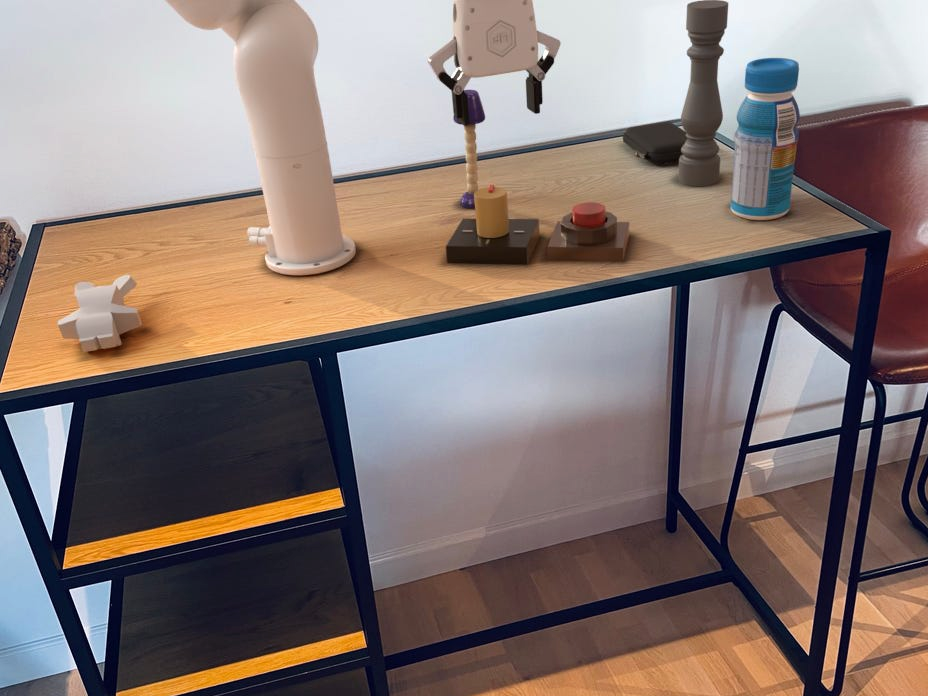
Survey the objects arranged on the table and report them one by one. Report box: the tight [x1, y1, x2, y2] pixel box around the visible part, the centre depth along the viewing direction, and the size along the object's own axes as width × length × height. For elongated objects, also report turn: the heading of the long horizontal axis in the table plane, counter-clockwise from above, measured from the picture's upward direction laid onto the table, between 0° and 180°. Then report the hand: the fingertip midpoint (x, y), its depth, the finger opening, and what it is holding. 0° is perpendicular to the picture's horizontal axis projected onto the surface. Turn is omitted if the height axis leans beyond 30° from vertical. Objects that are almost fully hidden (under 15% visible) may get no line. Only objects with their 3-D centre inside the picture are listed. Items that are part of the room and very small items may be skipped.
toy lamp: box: [453, 89, 486, 209], centre depth 146 cm, size 5×5×17 cm
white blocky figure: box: [57, 274, 142, 353], centre depth 124 cm, size 10×5×15 cm
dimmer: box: [445, 217, 541, 266], centre depth 136 cm, size 11×10×3 cm
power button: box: [571, 201, 606, 227], centre depth 132 cm, size 4×4×2 cm
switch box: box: [546, 210, 630, 263], centre depth 133 cm, size 10×9×4 cm
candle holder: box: [677, 0, 729, 187], centre depth 145 cm, size 6×6×25 cm
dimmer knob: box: [474, 184, 510, 238], centre depth 133 cm, size 4×4×6 cm
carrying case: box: [622, 121, 688, 166], centre depth 164 cm, size 11×3×15 cm
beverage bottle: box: [729, 57, 801, 221], centre depth 135 cm, size 8×8×20 cm
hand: (498, 117), depth 129 cm, fingers open, 9 cm apart
